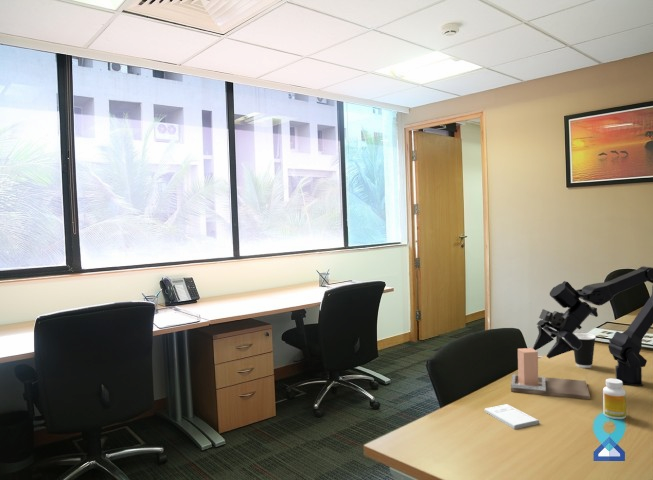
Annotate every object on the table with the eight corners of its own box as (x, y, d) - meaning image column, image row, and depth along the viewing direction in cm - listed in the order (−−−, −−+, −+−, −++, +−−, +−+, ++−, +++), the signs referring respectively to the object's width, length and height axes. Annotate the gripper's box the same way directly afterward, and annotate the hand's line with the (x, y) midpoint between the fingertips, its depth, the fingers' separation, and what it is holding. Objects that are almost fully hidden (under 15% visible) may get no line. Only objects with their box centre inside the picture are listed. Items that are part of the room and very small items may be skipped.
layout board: (585, 383, 157) (585, 377, 157) (590, 399, 144) (589, 392, 144) (513, 377, 166) (512, 370, 165) (511, 391, 153) (510, 384, 153)
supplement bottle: (629, 420, 129) (629, 384, 129) (607, 419, 130) (606, 383, 130) (621, 412, 134) (621, 377, 134) (600, 411, 136) (599, 377, 135)
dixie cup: (600, 369, 170) (600, 338, 169) (577, 369, 170) (576, 339, 170) (589, 362, 178) (589, 332, 177) (567, 362, 178) (567, 333, 178)
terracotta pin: (532, 381, 158) (531, 348, 157) (538, 386, 153) (537, 351, 153) (518, 381, 158) (517, 348, 157) (524, 386, 153) (523, 352, 153)
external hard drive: (514, 431, 127) (484, 413, 138) (539, 425, 129) (507, 408, 141) (514, 425, 127) (484, 407, 138) (539, 419, 129) (507, 403, 141)
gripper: (541, 295, 164) (510, 329, 164) (571, 306, 145) (535, 344, 146) (565, 317, 165) (534, 351, 165) (597, 330, 146) (562, 368, 146)
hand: (540, 353), depth 155 cm, fingers open, 9 cm apart
